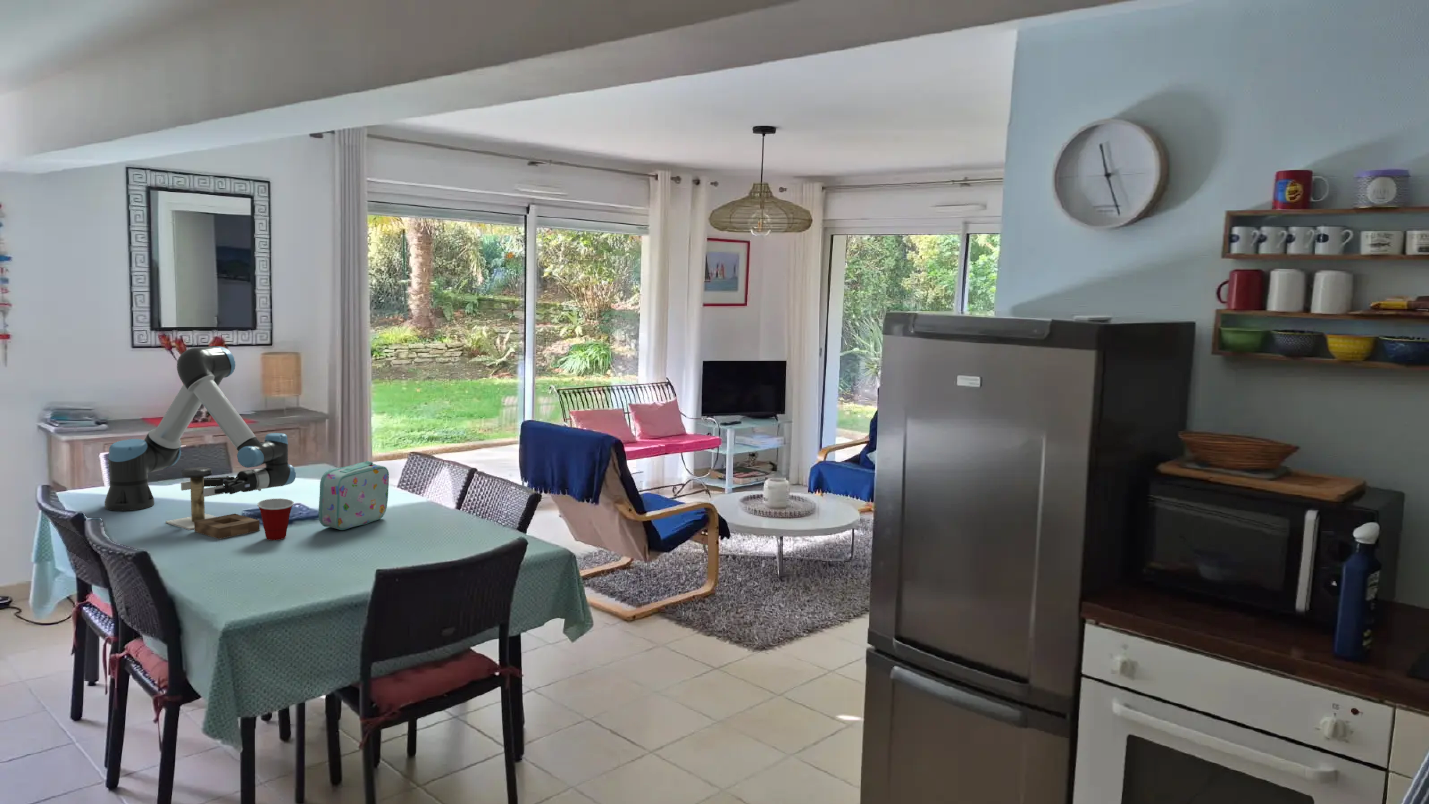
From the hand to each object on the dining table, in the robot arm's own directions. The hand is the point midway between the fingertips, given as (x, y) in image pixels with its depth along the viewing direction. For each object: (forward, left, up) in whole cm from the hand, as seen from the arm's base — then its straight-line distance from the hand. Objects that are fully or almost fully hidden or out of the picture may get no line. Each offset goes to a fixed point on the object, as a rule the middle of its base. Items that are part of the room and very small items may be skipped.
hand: (192, 489), depth 322 cm
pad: (0, +2, -12) cm, 12 cm away
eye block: (+17, +2, -12) cm, 21 cm away
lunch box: (+39, +35, -12) cm, 53 cm away
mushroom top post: (0, +2, -11) cm, 11 cm away
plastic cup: (+36, +7, -12) cm, 38 cm away
